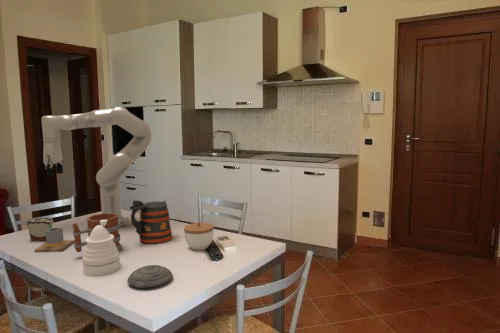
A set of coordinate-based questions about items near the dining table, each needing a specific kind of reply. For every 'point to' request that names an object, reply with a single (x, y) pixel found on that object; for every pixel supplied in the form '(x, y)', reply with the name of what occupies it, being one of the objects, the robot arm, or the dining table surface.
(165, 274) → the flying saucer
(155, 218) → the beer stein
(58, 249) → the pin board
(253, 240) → the dining table surface
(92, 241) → the honey pot
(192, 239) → the lidded bowl
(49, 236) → the sleeve
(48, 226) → the food container
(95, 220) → the mug
